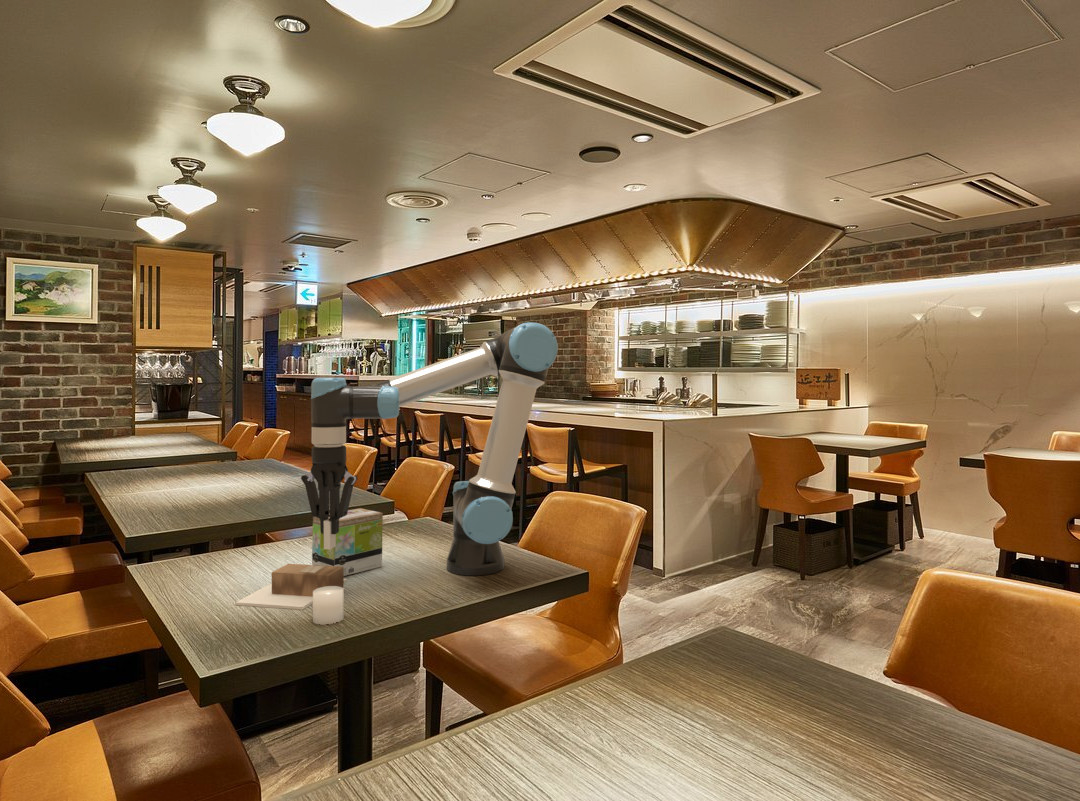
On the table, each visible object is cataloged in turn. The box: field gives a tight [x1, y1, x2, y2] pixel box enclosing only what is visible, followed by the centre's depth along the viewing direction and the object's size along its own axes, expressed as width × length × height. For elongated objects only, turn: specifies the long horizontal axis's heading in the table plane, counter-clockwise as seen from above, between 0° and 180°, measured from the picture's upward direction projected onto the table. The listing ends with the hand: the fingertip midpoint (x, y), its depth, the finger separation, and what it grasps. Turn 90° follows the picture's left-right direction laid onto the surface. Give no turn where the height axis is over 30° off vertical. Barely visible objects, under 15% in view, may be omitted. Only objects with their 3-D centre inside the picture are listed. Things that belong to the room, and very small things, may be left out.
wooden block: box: [271, 563, 345, 597], centre depth 150 cm, size 5×7×14 cm
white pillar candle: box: [312, 586, 345, 626], centre depth 134 cm, size 6×6×6 cm
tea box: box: [311, 507, 384, 577], centre depth 168 cm, size 15×10×15 cm, turn 143°
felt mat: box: [235, 578, 347, 611], centre depth 150 cm, size 16×20×1 cm
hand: (329, 547), depth 149 cm, fingers closed
